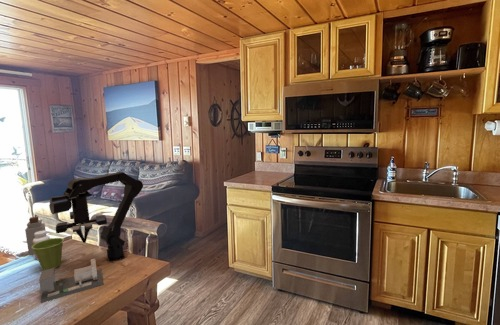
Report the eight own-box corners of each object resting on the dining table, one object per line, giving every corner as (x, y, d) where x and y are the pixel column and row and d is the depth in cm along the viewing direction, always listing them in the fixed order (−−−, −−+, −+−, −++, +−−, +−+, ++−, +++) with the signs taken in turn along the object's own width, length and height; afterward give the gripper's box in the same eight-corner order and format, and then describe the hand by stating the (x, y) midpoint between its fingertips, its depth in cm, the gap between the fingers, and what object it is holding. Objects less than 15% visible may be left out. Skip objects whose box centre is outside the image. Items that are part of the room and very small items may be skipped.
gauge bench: (101, 271, 121) (99, 255, 120) (103, 284, 110) (101, 267, 110) (44, 287, 111) (41, 269, 110) (40, 302, 100) (38, 284, 99)
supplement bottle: (35, 257, 138) (31, 232, 136) (52, 253, 142) (48, 228, 140) (35, 262, 132) (31, 236, 131) (52, 257, 136) (48, 232, 135)
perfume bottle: (29, 255, 140) (23, 220, 137) (32, 250, 145) (27, 217, 143) (45, 252, 143) (40, 218, 140) (47, 247, 149) (43, 214, 146)
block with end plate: (96, 270, 119) (95, 258, 118) (97, 281, 110) (96, 268, 110) (75, 276, 115) (73, 263, 114) (75, 287, 106) (73, 274, 106)
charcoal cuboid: (63, 288, 106) (62, 282, 105) (62, 291, 104) (62, 285, 104) (60, 289, 105) (59, 283, 105) (59, 292, 103) (58, 286, 103)
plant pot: (61, 258, 135) (58, 235, 134) (71, 265, 128) (67, 241, 126) (31, 268, 126) (28, 244, 125) (39, 276, 119) (35, 251, 117)
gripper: (103, 200, 132) (106, 232, 134) (55, 207, 123) (60, 241, 125) (105, 205, 123) (109, 239, 125) (53, 214, 113) (58, 250, 115)
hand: (84, 242), depth 123 cm, fingers closed
